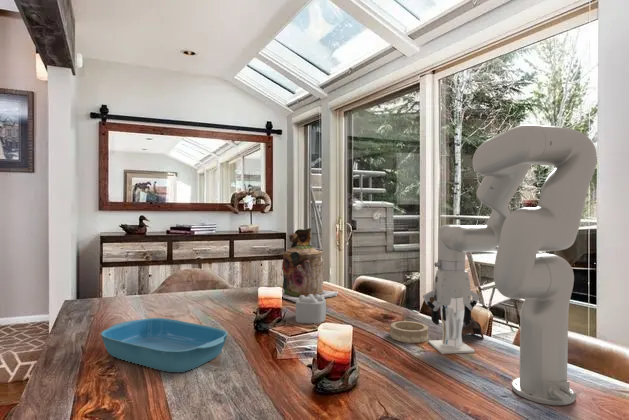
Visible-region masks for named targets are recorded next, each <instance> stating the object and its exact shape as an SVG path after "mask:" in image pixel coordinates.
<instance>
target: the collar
mask: <svg viewBox="0 0 629 420" xmlns="http://www.w3.org/2000/svg"><path fill="white" fill-rule="evenodd" d="M389 328H390V332H389V333H390V334H389V335H390V337H391V338H392V340H395V341H398V342H403V343H419V344H420V343H423V342H428V340H429V326H428V325H426V323H421V322H417V321H412V320H411V321H410V320H404V321H403V320H401V321H400V320H398V321H394V322H392V323H391V324H390V327H389Z"/></svg>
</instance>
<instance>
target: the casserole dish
mask: <svg viewBox="0 0 629 420" xmlns="http://www.w3.org/2000/svg"><path fill="white" fill-rule="evenodd" d="M228 334H229V333H228V331H226V330H224V329H222V328H218V327H213V326H207V325H202V324H197V323H193V322H187V321H184V320H183V321H182V320H177V319H171V318H165V317H163V318H162V317H151V318H144V319H143V318H142V319H135V320H128V321H123V322H119V323H116V324H114V325H111V326H110V327H109V328H106V329H104V330H102V332H100V336H101V338H102V341H103V344H104V347H105V350H106V351H107V353H108V354H109V355H110V356H112V357H114V358H115V357H116V359H118V360H120V359H121V361H123V360H125V362H127V361H128V362H127V363H130V362H132V363H131V364H134V363H135V364H134V365H137V364H139V365H138V366H141V365H143V366H142V367H144V366H146V368H148V367H150V368H149V369H152V368H154V369H153V370H156V369H158V370H157V371H160V370H162V371H161V372H164V371H167V372H166V373H170V372H182V373H186V372H185V371H187V372H188V370H190V371H192V370H195V369H197V368H199V367H201V366H202V364H203V365H204V363H205V364H207V363H209V362H211V361H212V360H214V359H215V358H217V357H218V356H219V355H220V354H221V352H222V351H223V348H224V346H225V343H226V339H227V337H228ZM208 361H209V362H208ZM206 362H207V363H206ZM200 365H201V366H200ZM198 366H199V367H198ZM196 367H197V368H196ZM191 369H192V370H191Z"/></svg>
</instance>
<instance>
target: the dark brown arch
mask: <svg viewBox="0 0 629 420" xmlns="http://www.w3.org/2000/svg"><path fill="white" fill-rule="evenodd" d="M480 323H481V322H479V321H478V320H477V319H475V318H474V317H473V316H472V315H471V320H470V324H467V323H465V322H464V323H463V328H462V336H466V335H469V334H471V335H477V336H480V337H481V339H482V340H484V339H485V338H484V332H483V330H482V327H481V324H480Z"/></svg>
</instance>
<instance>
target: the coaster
mask: <svg viewBox="0 0 629 420" xmlns="http://www.w3.org/2000/svg"><path fill="white" fill-rule="evenodd" d="M427 342H428V344H429V345H431V346H432V347H433V348H434V349H436V350H437V351H438V352H439V353H440V354H442V355H444V354H468V353H469V354H471V353H476V350H475V349H473V347H470V346H469V345H468V344H466V343H465V342H463V341H462V343H463V347H462V348H458V349H453V348H447V347H444V346H443V345H442V339H439V340H438V339H437V340H436V339H434V340H433V339H432V340H431V339H430V340H429V339H428V340H427Z"/></svg>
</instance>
